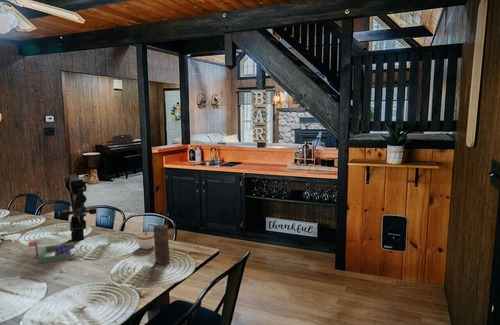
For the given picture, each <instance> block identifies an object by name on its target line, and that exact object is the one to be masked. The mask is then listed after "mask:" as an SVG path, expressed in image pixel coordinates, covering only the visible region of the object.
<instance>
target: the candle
mask: <svg viewBox="0 0 500 325" xmlns="http://www.w3.org/2000/svg"><path fill="white" fill-rule="evenodd" d="M152 228H153V232H154V257H155V262H156V263H157V264H160V265H165V264H168V263H169V262H170V259H171V258H170V257H171V256H170V247H169V243H170V242H169V230H168V225H167V224H163V225H162V224H157V225H153V227H152ZM164 263H165V264H164Z"/></svg>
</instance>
